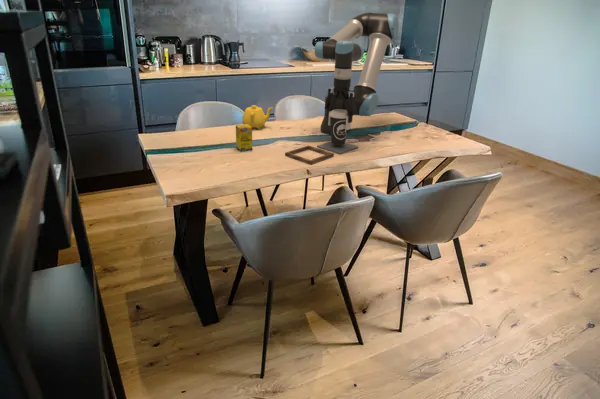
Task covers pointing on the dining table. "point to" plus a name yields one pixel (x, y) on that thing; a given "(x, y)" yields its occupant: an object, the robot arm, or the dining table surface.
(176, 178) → the dining table surface
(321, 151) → the frame
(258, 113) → the teapot
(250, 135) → the supplement box
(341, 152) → the coaster
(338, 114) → the coffee cup
